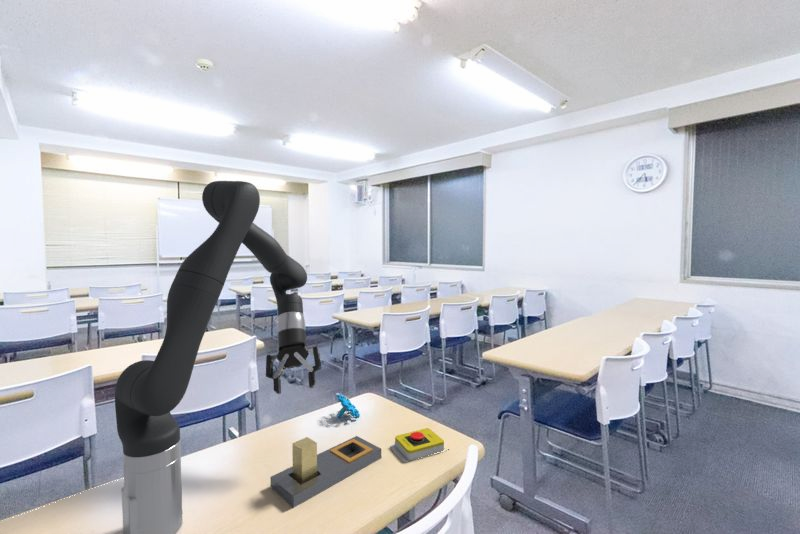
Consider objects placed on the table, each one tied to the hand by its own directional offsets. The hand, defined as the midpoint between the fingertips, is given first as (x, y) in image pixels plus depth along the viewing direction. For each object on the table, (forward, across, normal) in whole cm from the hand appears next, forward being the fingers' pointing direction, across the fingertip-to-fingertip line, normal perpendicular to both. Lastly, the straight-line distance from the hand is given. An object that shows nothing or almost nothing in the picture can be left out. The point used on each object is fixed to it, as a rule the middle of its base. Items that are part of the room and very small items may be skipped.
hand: (295, 390), depth 97 cm
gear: (+7, +10, +31) cm, 33 cm away
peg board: (+20, +6, +3) cm, 22 cm away
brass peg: (+22, +1, -2) cm, 22 cm away
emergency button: (+20, +30, +13) cm, 39 cm away
